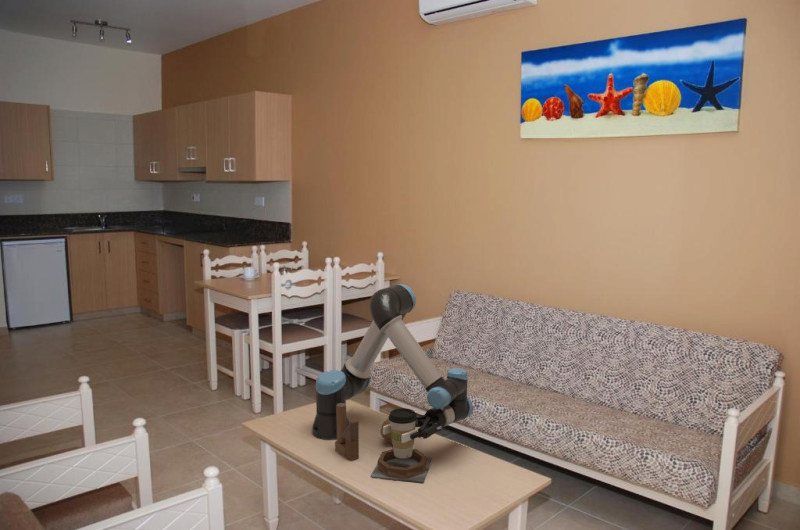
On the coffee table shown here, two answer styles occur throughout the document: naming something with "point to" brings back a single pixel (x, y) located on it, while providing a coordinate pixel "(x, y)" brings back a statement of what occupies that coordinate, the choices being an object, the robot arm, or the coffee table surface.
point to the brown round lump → (388, 436)
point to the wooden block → (346, 435)
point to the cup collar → (402, 467)
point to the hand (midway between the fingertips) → (392, 434)
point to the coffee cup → (402, 431)
